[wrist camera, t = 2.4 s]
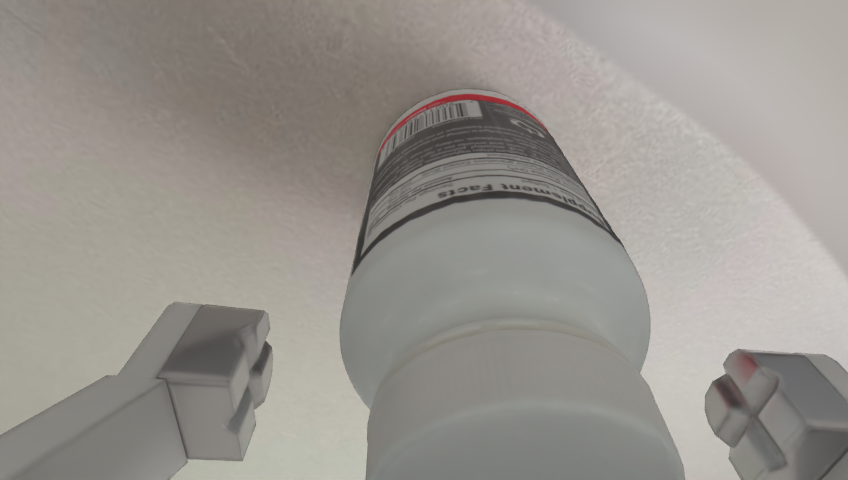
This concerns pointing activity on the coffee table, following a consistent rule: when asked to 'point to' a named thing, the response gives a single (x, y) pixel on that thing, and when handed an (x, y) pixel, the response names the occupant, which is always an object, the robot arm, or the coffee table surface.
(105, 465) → the robot arm
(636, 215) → the coffee table surface
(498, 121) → the pill bottle
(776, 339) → the coffee table surface
